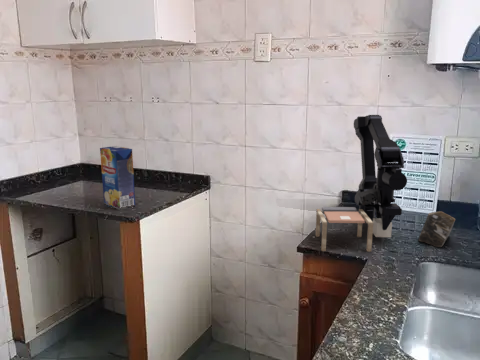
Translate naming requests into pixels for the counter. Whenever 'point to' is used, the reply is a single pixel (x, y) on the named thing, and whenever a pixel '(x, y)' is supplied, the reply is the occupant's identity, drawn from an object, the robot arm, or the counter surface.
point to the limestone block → (378, 228)
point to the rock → (436, 228)
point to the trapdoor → (342, 215)
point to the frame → (359, 230)
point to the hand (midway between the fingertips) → (381, 227)
